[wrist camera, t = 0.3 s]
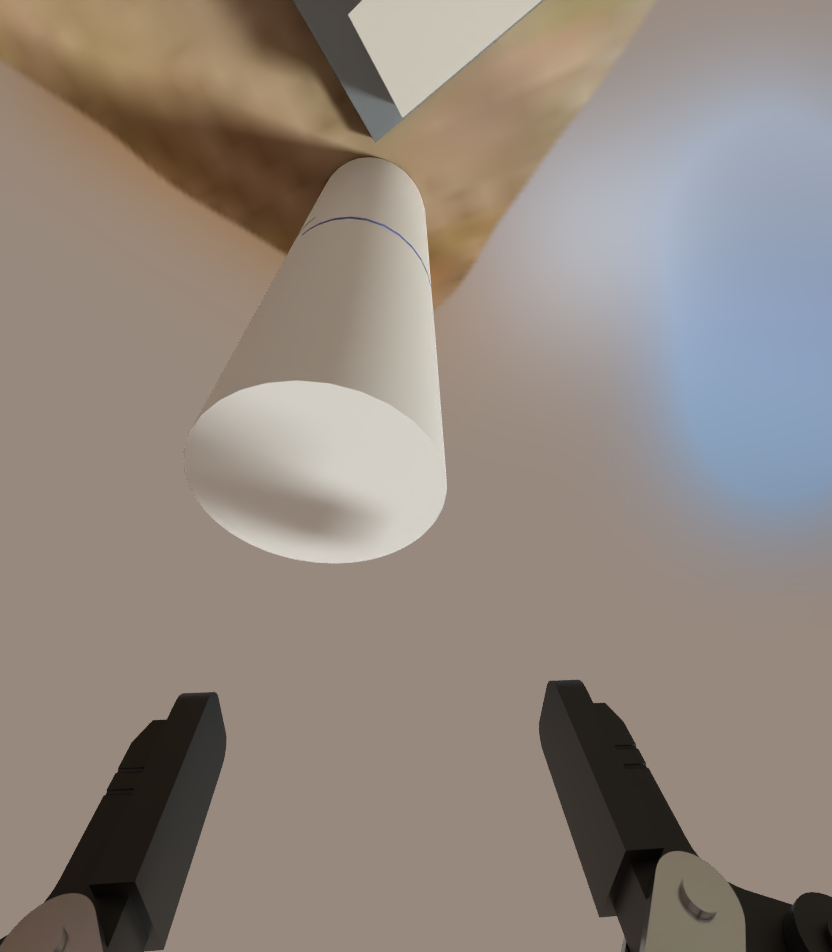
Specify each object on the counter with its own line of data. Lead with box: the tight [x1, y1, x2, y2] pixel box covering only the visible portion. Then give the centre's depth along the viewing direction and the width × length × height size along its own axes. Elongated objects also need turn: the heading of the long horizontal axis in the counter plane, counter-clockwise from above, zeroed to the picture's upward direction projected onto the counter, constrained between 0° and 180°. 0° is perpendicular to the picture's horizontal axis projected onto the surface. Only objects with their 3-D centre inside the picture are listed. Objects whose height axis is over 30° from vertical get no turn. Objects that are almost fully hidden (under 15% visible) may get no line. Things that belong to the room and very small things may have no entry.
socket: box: [348, 0, 542, 118], centre depth 21 cm, size 4×8×6 cm, turn 123°
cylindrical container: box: [184, 157, 447, 563], centre depth 21 cm, size 7×7×25 cm
